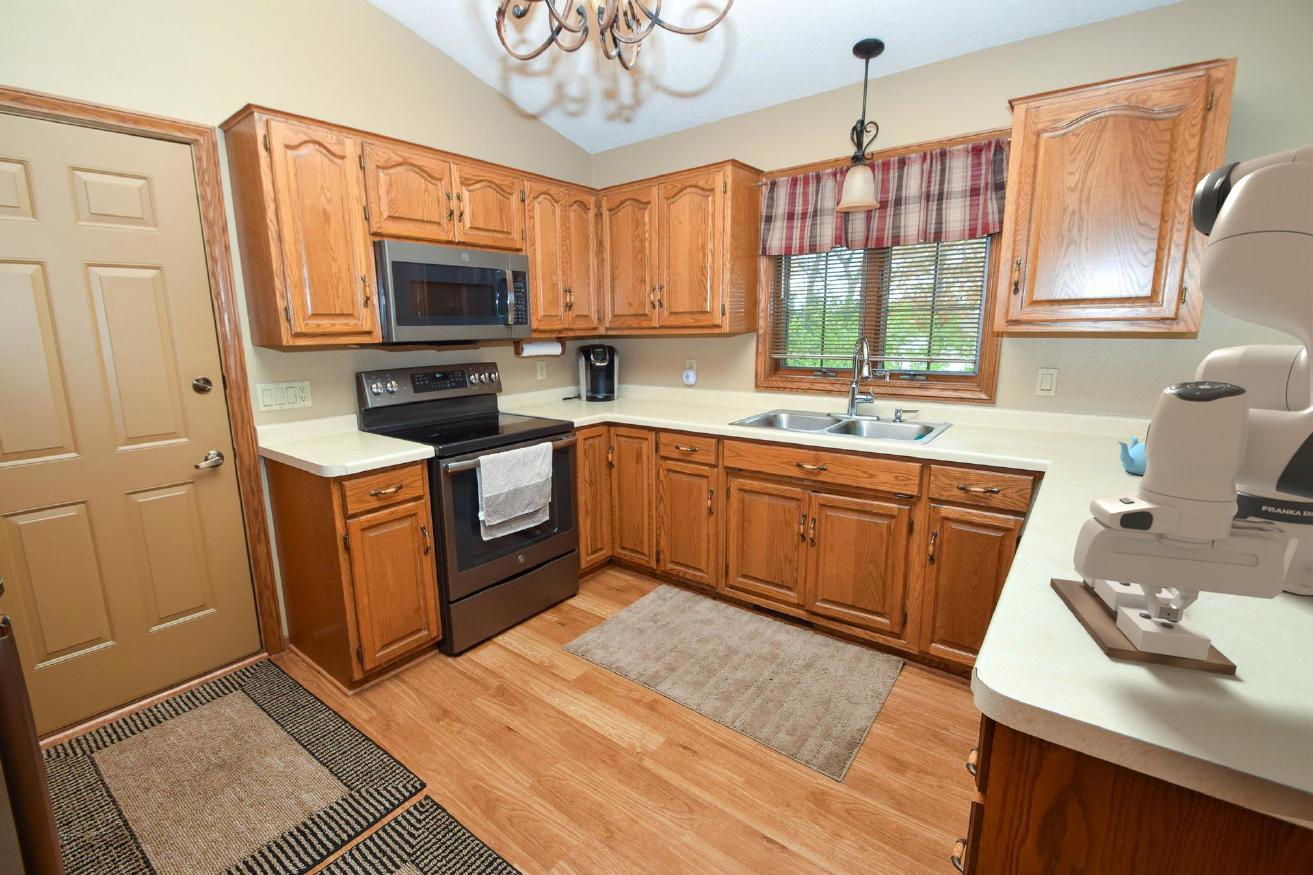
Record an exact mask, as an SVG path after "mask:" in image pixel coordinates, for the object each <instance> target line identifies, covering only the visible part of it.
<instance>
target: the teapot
mask: <svg viewBox="0 0 1313 875" xmlns="http://www.w3.org/2000/svg"><path fill="white" fill-rule="evenodd" d="M1129 437H1130V439H1131V443H1130V446H1128V444H1127V443H1126V442H1123V441H1116V442H1117V443H1118V444H1119V445H1120V448H1121V449H1120V453H1119V456H1120V460H1121V462H1122V467H1123V468H1124V469H1125V470H1126V471H1127V472H1128V473H1131V474H1134V475H1138V476H1144V474H1145V471H1146V467H1147V461H1146V456H1145V452H1144V451H1145V443H1146V442H1139V440H1138V438H1137V436H1135V435H1132V434H1130V436H1129Z"/></svg>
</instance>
